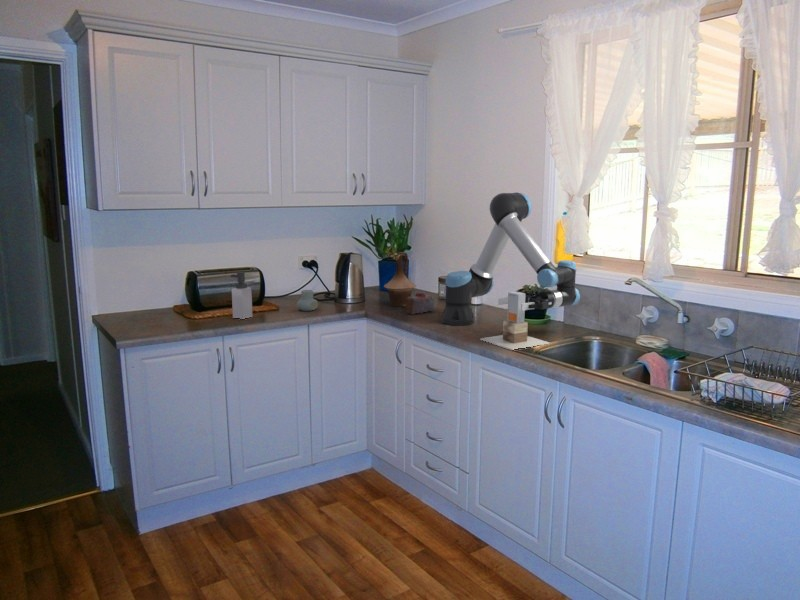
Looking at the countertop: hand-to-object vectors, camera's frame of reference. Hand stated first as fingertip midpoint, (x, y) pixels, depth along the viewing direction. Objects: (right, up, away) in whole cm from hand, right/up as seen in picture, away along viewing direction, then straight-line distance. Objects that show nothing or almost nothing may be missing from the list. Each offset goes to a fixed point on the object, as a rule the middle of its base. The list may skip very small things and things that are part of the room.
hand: (509, 304), depth 258 cm
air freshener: (-91, -4, +68) cm, 114 cm away
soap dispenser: (-121, -7, +49) cm, 131 cm away
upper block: (+3, -11, +4) cm, 12 cm away
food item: (-34, -5, +64) cm, 72 cm away
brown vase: (-44, -1, +82) cm, 94 cm away
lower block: (+3, -15, +5) cm, 16 cm away
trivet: (+3, -15, +5) cm, 16 cm away
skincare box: (+3, -7, +3) cm, 8 cm away
